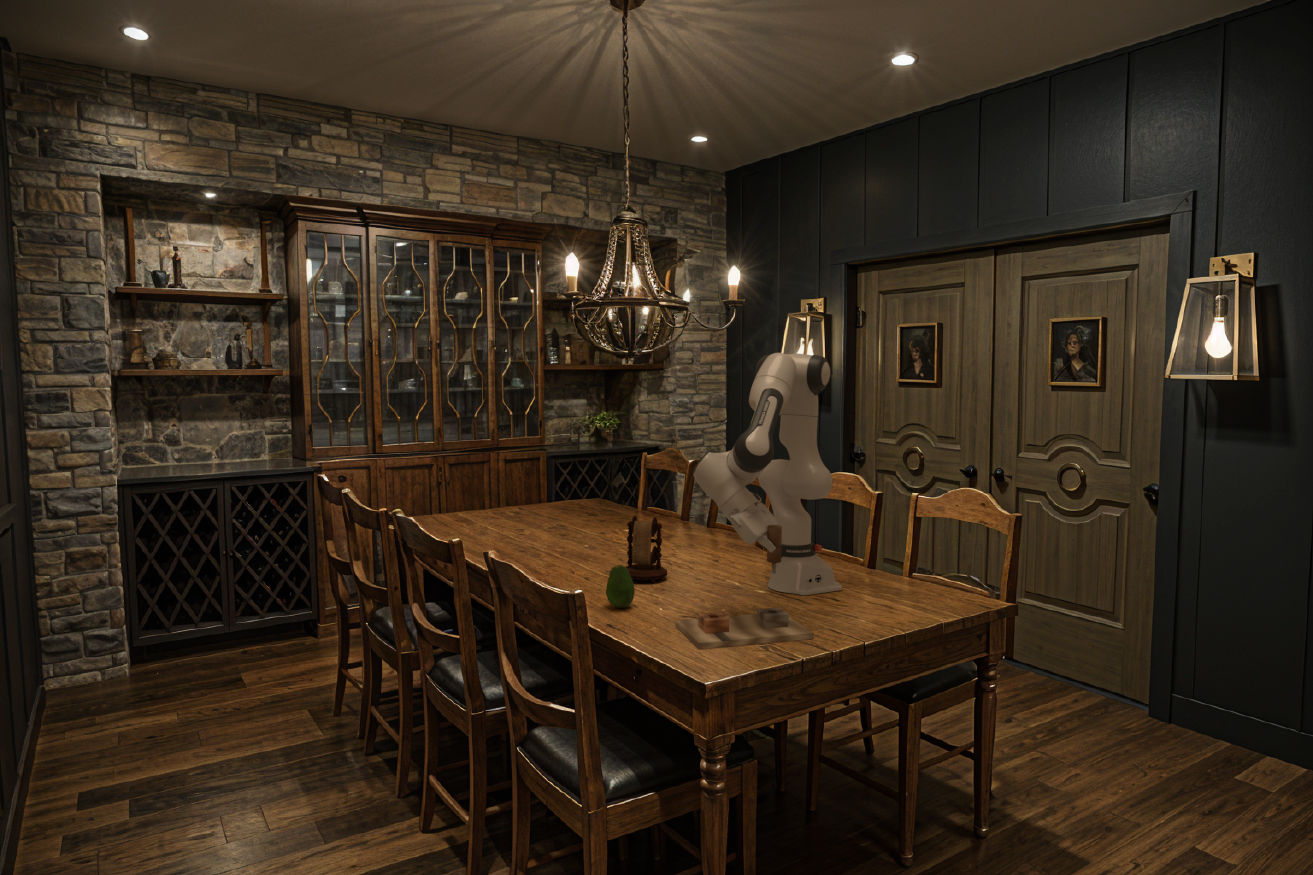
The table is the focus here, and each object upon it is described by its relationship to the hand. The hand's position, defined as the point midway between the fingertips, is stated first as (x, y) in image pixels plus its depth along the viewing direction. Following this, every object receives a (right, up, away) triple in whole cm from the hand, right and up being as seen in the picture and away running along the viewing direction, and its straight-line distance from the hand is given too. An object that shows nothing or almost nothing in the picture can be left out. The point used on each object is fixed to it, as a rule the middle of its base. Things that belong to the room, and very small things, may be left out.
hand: (776, 548), depth 201 cm
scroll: (-34, -17, +51) cm, 64 cm away
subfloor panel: (-9, -21, 0) cm, 23 cm away
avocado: (-40, -19, +19) cm, 49 cm away
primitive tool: (+13, -15, +92) cm, 94 cm away
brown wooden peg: (-1, -6, +1) cm, 6 cm away
